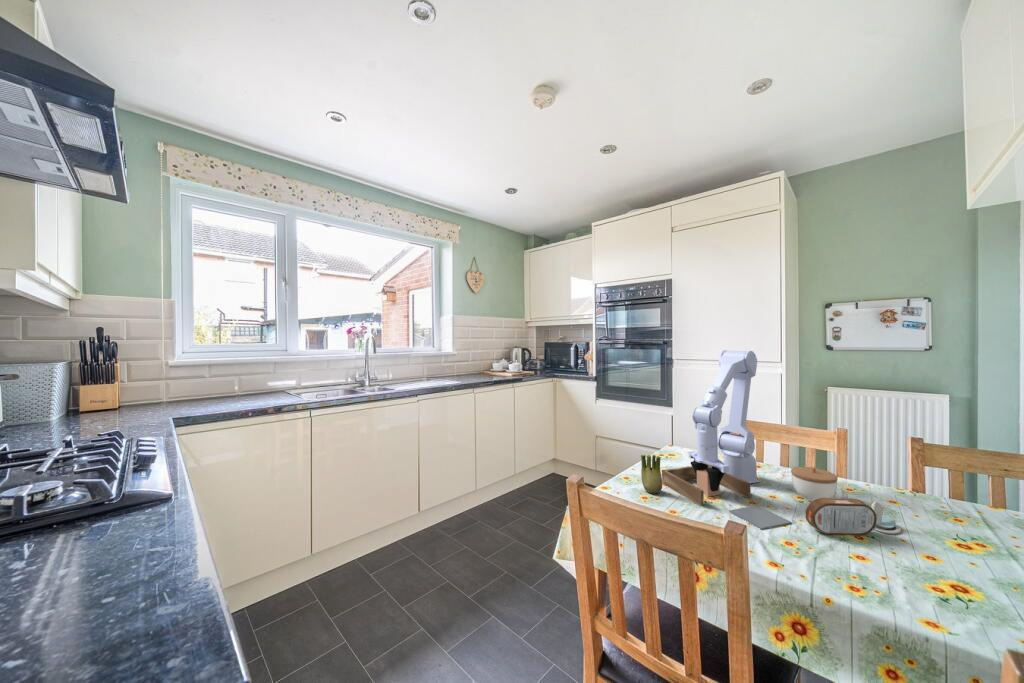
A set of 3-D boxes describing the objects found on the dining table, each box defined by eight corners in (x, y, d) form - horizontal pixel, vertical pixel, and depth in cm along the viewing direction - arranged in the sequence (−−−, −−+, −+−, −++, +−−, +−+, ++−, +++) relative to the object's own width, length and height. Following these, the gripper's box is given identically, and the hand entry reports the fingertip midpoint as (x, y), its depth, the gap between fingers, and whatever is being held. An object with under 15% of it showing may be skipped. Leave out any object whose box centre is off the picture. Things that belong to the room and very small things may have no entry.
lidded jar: (846, 502, 107) (846, 470, 107) (822, 509, 103) (822, 476, 103) (806, 488, 117) (805, 459, 117) (783, 494, 113) (782, 464, 113)
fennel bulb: (639, 490, 119) (639, 453, 119) (650, 486, 122) (649, 450, 122) (655, 496, 114) (654, 458, 114) (665, 493, 117) (664, 455, 117)
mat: (757, 506, 106) (757, 505, 106) (791, 523, 96) (791, 522, 96) (729, 511, 104) (729, 510, 104) (761, 529, 94) (761, 528, 94)
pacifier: (907, 532, 91) (877, 520, 97) (908, 507, 91) (877, 497, 97) (889, 538, 89) (859, 525, 95) (889, 513, 89) (859, 501, 94)
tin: (868, 530, 92) (868, 497, 92) (880, 537, 89) (879, 503, 89) (804, 529, 94) (803, 496, 94) (813, 536, 91) (812, 502, 90)
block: (708, 488, 119) (708, 468, 119) (719, 494, 115) (719, 473, 115) (697, 490, 118) (696, 470, 118) (707, 496, 114) (707, 475, 113)
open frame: (706, 476, 129) (706, 464, 129) (750, 497, 112) (750, 483, 112) (662, 483, 124) (661, 470, 124) (700, 506, 107) (700, 491, 107)
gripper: (680, 439, 122) (681, 480, 122) (714, 452, 108) (715, 498, 108) (698, 437, 124) (699, 477, 124) (734, 450, 110) (735, 495, 110)
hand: (708, 487), depth 116 cm, fingers closed on block, 4 cm apart
